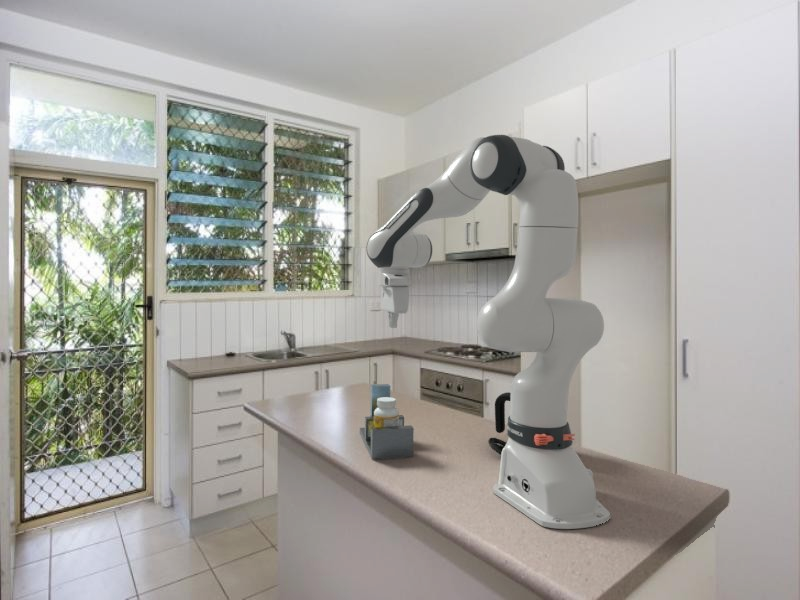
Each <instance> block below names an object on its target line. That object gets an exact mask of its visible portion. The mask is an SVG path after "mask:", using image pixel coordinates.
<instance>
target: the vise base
mask: <svg viewBox="0 0 800 600" xmlns="http://www.w3.org/2000/svg"><path fill="white" fill-rule="evenodd" d="M359 435H360V437H361V439H362V442H363V443H364V446H365V448H366V451H367V452H368V454H369V457H370V458H371V460H372V461H374V460H375V461H376V460H387V459H388V460H389V459H390V460H391V459H392V460H393V459H402V458H411V457H412V458H413V457H414V427H413V426H412V425H411V424H410V425H404V426H392V427H375V428H371V440H365V427H359Z"/></svg>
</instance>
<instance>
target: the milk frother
mask: <svg viewBox="0 0 800 600" xmlns="http://www.w3.org/2000/svg"><path fill="white" fill-rule="evenodd" d="M510 396H511V392H509V391H508V392H507V391H506V392H504V393H501V394H499V395H498V396H497V397H496V399H495V401H494V421H495V422H494V423H495V431H496V433H498V434H502V433H504V431H505V429H506V421H505V420H506V418H505V417H506V413H505V412H506V411H505V410H506V409H505V407H506V406H505V405H506V402H510ZM487 443H488V445H489V446H490V447H491V449H492V450H493V451H494V452H496V453H497V454H498V455H500V456H501V453H502V450H503V448H504V447H505V445H506V443H507V441H504V440H502V439H500V438H497V437H489V438H488V440H487Z"/></svg>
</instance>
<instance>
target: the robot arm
mask: <svg viewBox="0 0 800 600" xmlns="http://www.w3.org/2000/svg"><path fill="white" fill-rule="evenodd" d="M565 169H566V168H565V162H564V160H563V157H562V156H561V155H560V154H559V152H558V151H556V150H555V149H554V148H551V147H550V146H547V145H541V144H540V143H537V142H534V141H531V140H530V139H527V138H523V137H516V136H509V135H506V134H493V135H489V136H486V137H482V136H481V137H478V138H476V139H473V140H472V141H471V142H470V143H469V144H467V145H466V147H465V148H463V150H462V151H461V152H460V153H459V154H458V155H457V156H455V158H454V159H453V160H452V161H451V162H450V164H449V166H448V167H447V168H446V170H444V172H443V173H442V174H441V175H440V176H439V177H438V178H436V179H435V180H434V181H432V182H431V183H430V184H428V185H427V186H425V187H424V188H421V189H420V190H418V191H416V192H415V193H414V194H413V195H412V196H411V197H410V198H409V199H407V201H406V202H405V203H403V205H402V206H401V207H400V208H399V209H398V210H397V211H396V212H395V213H394V214H393V216H391V218H390V219H389V220H388V221H387V222H386V223H385V224H383V225H382V226H381V227H379V228H377V229H376V230H375V231H373V232H372V234H371V235H370V236H369V238H368V240H367V242H366V254H367V257H368V259H369V260H370V261H371V262H372V264H373V265H374V266H375V267H377V269H378V281H377V282H378V287H380V286H381V287H382V288H381V291H380V292H381V294H380V295H381V296H380V309H381V310H382V311H385V312H387V317H388V327H389V328H391V329H397V328H398V320H399V316H400V314H407V312H408V310H409V301H410V287H411V286H412V278H411V276H410V268H414V269H418V268H424V267H425V266H427V265H428V264H429V262H430V261H431V258H432V256H433V244H432V241H431V240H430V238H429V237H428V236H427V235H426V234H423V233H420V232H417V231H415V229H416V228H417V227H418V226H419V225H421V224H423V223H425V222H428V221H433V220H439V219H448V218H457V217H462V216H466V215H467V214H468V213H470V212H472V211H473V210H474V209H475V208H476V207H477V206H479V204H480V203H481V202H482V201H483V199H485V198H486V196H487V195H488V194H489V193H490V191H491V192H495V193H498V194H501V195H504V196H509V195H512V196H515V198H516V199H517V200H518V203H519V221H518V232H517V234H518V235H517V242H516V243H517V244H516V250H515V251H516V253H515V259H514V264H513V268H512V270H511V273H510V275H509V278H508V279H507V281H506V282H505V284H504V285H503V287H502V288H501V289H500V291H499V292H498V293H497V294H495V295H494V296H493V297H492V298H491V299H489V300H488V301H487V302H486V303H484V304H483V306H482V307H481V309H480V311H479V312H478V315H477V319H476V322H477V323H476V329H477V333H478V336H479V338H480V340H481V341H482V342H483V344H484V345H485V346H486V347H487V348H489V349H493V350H496V351H501V352H502V351H503V352H506V353H536V355H535V356H534V359H533V362H531V364H530V365H529V366H528V367H527V368H525V369H523V370H521V371H519V372H518V373H517V374H516V375H515V376H514V377H513V379H512V380H511V383H510V393H511V396H510V401H509V402H510V403H509V416H508V418H507V423H506V429H507V434H506V435H507V436H508V438H507V441H506V442H507V443H506V445H505V447H504V448H503V450H502V453H501V455H500V463H499V465H500V466H499V475H498V482H497V483H495V484H494V485H493V488H492V493H493V494H494V495H496V496H497V497H499V498H500V499H502V500H503V501H505V502H506V503H508V504H509V505H510V506H512V507H513V508H515V509H516V510H518V511H519V512H521V513H522V514H523V515H525V516H527V518H529V519H531V520H532V521H534V522H535V523H537V524H538V525H539V526H542V527H545V528H549V529H550V528H551V529H555V530H557V529H558V530H559V529H560V530H573V529H585V528H592V527H596V525H597V526H600V525H599V524H601V525H603V524H605V522H606V521H607V522H609V521H610V520H611V517H612V516H611V512H610V511H609V510H608V509H607V508H606V507H605V506H604V505H603V504H602V503H601V502H600V501H599V500H598V499H597V495H596V494H597V493H596V485H595V481H594V473H593V471H592V470H591V469H590V468H587V467H586V466H585V464H584V463H583V462H582V460H581V458H580V457H579V455H578V453H577V452H576V450H575V449H574V447H573V442H574V441H575V439H576V438H573V437H574V436H575V435H576V434H575V433H572V430H571V428H570V424H569V422H568V405H569V404H568V403H569V392H570V391H569V390H570V386H571V381H572V378H573V375H574V373H575V371H576V369H577V368H578V365H579V364H580V362H581V360H582V359H583V358H584V357H585V355H586V354H588V352H589V351H591V349H593V348H595V347H596V346H597V345H598V344H599V343H600V342H601V339H602V337H603V335H604V331H605V322H604V321H605V320H604V317H603V315H602V312H601V310H600V309H599V307H598V306H597V305H596V304H594V303H593V302H589V301H586V300H585V301H584V300H582V299H581V300H580V299H576V298H571V297H546V296H547V293H548V291H549V290H550V288H551V287H552V285H553V284H554V283H555V282H557V281H558V280H560V279H562V278H564V277H566V276H568V275H569V274H570V273H571V271H573V268H574V266H575V263H576V255H577V254H576V252H577V242H578V241H577V240H578V231H579V194H578V185H577V181H576V179H575V177H574V176H573V175H572V174H571V173H570V172H568V171H565ZM609 519H610V520H609ZM608 520H609V521H608ZM607 522H606V523H607ZM602 523H603V524H602Z"/></svg>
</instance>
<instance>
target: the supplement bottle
mask: <svg viewBox="0 0 800 600" xmlns="http://www.w3.org/2000/svg"><path fill="white" fill-rule="evenodd" d="M377 406H378V408H376V409H375V411H374V428H375V427H392V426H399V415H400V411H399V410H398V408H396V406H397V399H396V398H394V397H391V396H390V397H381V398H378V399H377Z"/></svg>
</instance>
